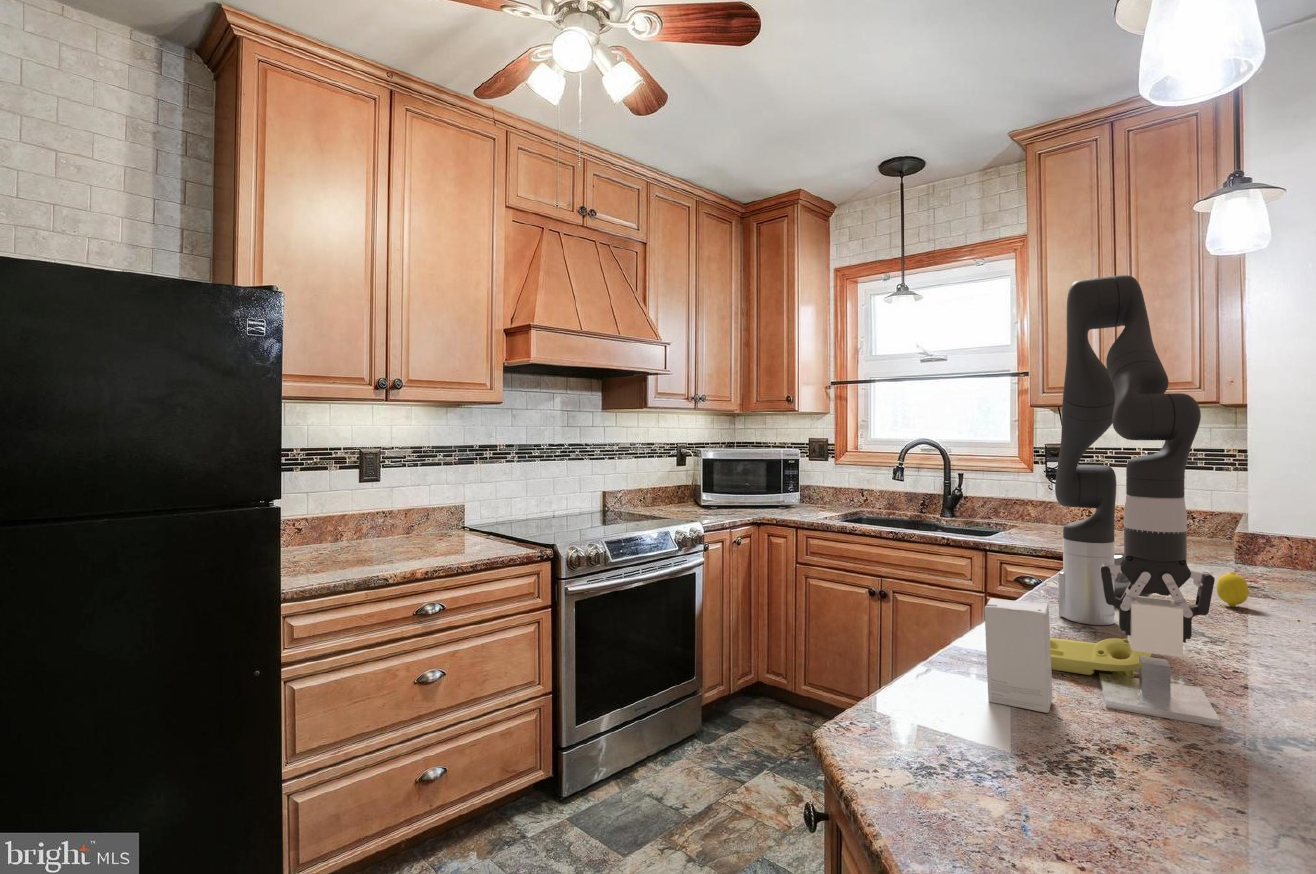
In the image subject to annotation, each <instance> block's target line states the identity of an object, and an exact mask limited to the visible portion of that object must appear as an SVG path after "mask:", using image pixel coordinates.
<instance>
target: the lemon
mask: <svg viewBox="0 0 1316 874" xmlns="http://www.w3.org/2000/svg"><path fill="white" fill-rule="evenodd" d="M1249 590H1250V589H1249V586H1248V583H1247V581H1246V579H1245V578H1243V577H1242V576H1241V575H1239V574H1236V572H1232V571H1230V572H1229V573H1226V574H1223V575H1221V576H1219V578H1218V580H1217V583H1216V592H1217V595H1218V598H1219V599H1220V600H1221V601H1222V602H1224V603H1226V604H1228V606H1229V607H1232V608H1235V607H1236V606H1238V605H1241V604H1243V603H1245V602H1246V601H1247V600H1248V596H1249V594H1250V591H1249Z"/></svg>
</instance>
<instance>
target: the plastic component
mask: <svg viewBox="0 0 1316 874" xmlns="http://www.w3.org/2000/svg"><path fill="white" fill-rule="evenodd" d="M1050 650H1051V671H1052V670H1053V671H1061V672H1067V673H1074V674H1081V675H1085V676H1091V675H1093V674H1094V673H1095V670H1096V671H1105V672H1111V674H1113V675H1120V676H1126V677H1133V678H1135V672H1136V670H1137V669H1138V670H1139V656H1144V657H1151V658H1152V654H1153V653H1146V652H1139V651H1132V649H1131V647H1130V644H1129V642H1128V637H1125V638H1117V637H1116V638H1113V637H1112V638H1106V639H1102V640H1099V641H1098V642H1096V643H1095V642H1087V641H1081V640H1080V641H1079V640H1074V639H1073V640H1072V639H1065V638H1064V639H1063V638H1054V637H1050Z"/></svg>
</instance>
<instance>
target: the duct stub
mask: <svg viewBox="0 0 1316 874" xmlns="http://www.w3.org/2000/svg"><path fill="white" fill-rule="evenodd" d="M1138 676H1139V677H1138V678H1137V677H1126V676H1120V675H1115V674H1112V673H1105V672H1099V682H1100V687H1101V691H1102V696H1103V697H1102V698H1103V701H1104V704H1105V705H1104V706H1105V708H1107V709H1114V710H1119V711H1124V712H1130V713H1135V714H1136V713H1137V714H1141V715H1148V716H1153V717H1159V718H1165V719H1170V720H1176V721H1182V722H1186V723H1187V722H1188V723H1193V724H1198V725H1199V724H1200V725H1203V726H1204V725H1206V726H1210V727H1216V728H1221V719H1220V718H1219V716H1218V714H1217V712H1216V711H1215V709H1214V708H1213V705H1212V704H1211V702H1210V701H1209V699H1208V697H1207V695H1206V693H1205V692H1204V691H1203V689H1202V687H1199V686H1198V687H1197V686H1190V685H1184V684H1177V683H1173V682H1172V683H1171V678H1172V677H1171V665H1170V662H1169V661H1168V659H1164V658H1156V657H1152V656H1151V657H1144V656H1139V668H1138Z"/></svg>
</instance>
